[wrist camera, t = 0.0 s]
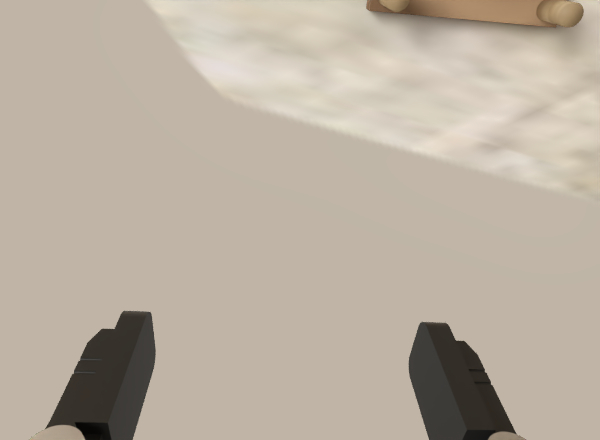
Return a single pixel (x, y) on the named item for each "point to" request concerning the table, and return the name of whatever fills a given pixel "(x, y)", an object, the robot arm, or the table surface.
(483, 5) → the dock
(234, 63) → the table surface
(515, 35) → the table surface
